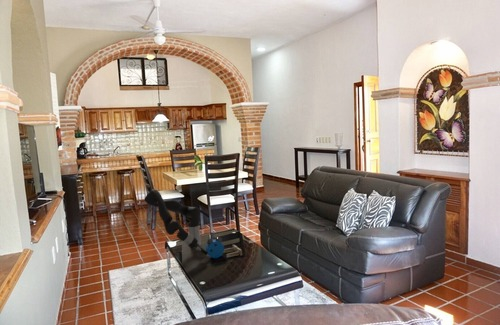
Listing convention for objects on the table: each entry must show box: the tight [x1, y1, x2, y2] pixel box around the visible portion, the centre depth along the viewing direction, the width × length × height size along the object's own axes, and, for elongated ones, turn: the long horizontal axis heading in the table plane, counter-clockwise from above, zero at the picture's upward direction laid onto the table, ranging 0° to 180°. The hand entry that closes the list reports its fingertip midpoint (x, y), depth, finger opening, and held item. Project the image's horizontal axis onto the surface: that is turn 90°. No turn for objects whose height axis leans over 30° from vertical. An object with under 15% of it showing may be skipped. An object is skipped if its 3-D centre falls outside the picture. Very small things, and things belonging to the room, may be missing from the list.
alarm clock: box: [205, 236, 225, 259], centre depth 272 cm, size 13×6×15 cm, turn 113°
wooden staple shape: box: [223, 244, 243, 259], centre depth 278 cm, size 16×12×4 cm
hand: (206, 253), depth 269 cm, fingers closed
